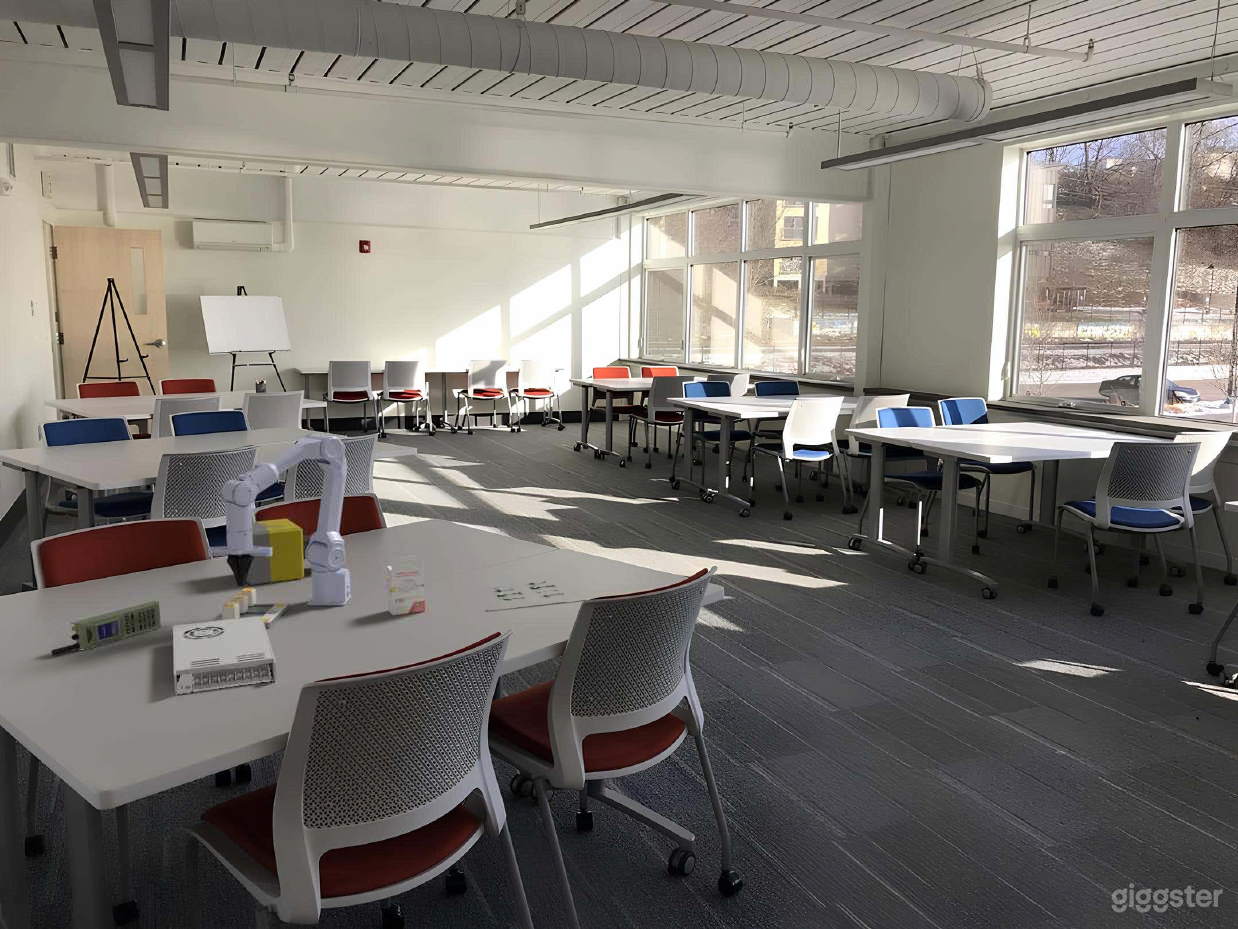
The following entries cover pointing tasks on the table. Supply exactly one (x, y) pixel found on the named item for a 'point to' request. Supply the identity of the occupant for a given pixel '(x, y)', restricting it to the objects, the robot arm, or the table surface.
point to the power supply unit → (223, 652)
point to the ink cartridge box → (406, 585)
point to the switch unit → (263, 612)
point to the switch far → (249, 595)
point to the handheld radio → (114, 626)
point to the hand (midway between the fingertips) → (241, 585)
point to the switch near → (230, 611)
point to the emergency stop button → (278, 552)
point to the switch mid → (241, 602)
